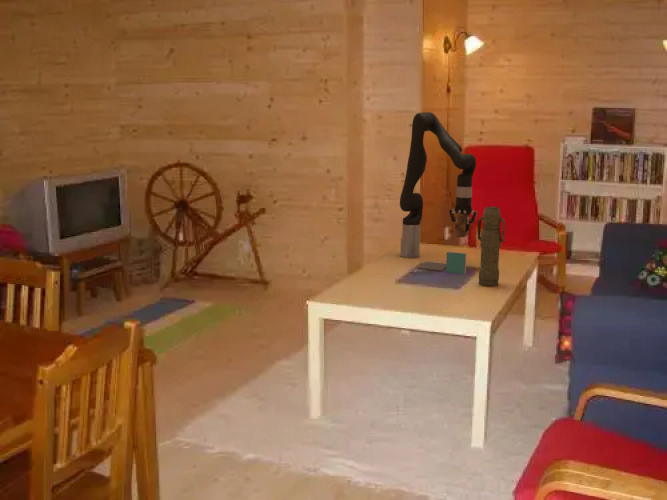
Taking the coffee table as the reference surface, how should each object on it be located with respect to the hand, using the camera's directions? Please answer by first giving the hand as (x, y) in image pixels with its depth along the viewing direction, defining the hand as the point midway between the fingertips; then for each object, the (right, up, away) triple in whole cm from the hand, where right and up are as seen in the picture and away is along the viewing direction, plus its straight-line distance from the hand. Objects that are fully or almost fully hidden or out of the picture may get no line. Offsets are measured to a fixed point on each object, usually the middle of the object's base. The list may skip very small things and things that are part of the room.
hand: (462, 230), depth 374 cm
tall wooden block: (0, -2, 0) cm, 2 cm away
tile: (-4, -20, -5) cm, 21 cm away
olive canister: (+7, -25, -25) cm, 36 cm away
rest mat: (-13, -18, +7) cm, 23 cm away
